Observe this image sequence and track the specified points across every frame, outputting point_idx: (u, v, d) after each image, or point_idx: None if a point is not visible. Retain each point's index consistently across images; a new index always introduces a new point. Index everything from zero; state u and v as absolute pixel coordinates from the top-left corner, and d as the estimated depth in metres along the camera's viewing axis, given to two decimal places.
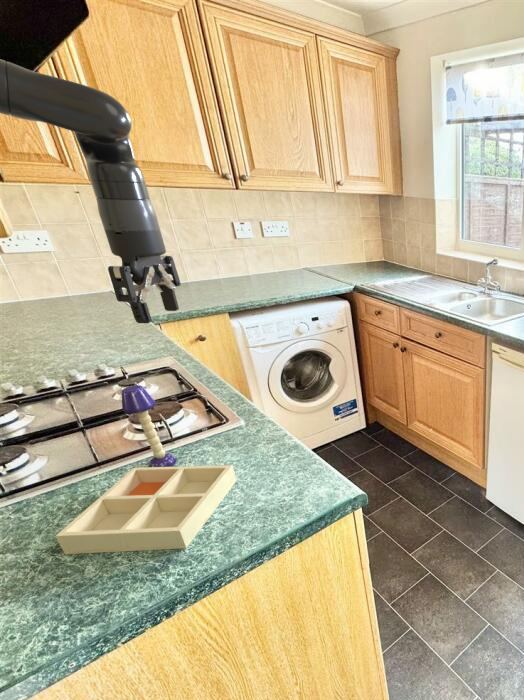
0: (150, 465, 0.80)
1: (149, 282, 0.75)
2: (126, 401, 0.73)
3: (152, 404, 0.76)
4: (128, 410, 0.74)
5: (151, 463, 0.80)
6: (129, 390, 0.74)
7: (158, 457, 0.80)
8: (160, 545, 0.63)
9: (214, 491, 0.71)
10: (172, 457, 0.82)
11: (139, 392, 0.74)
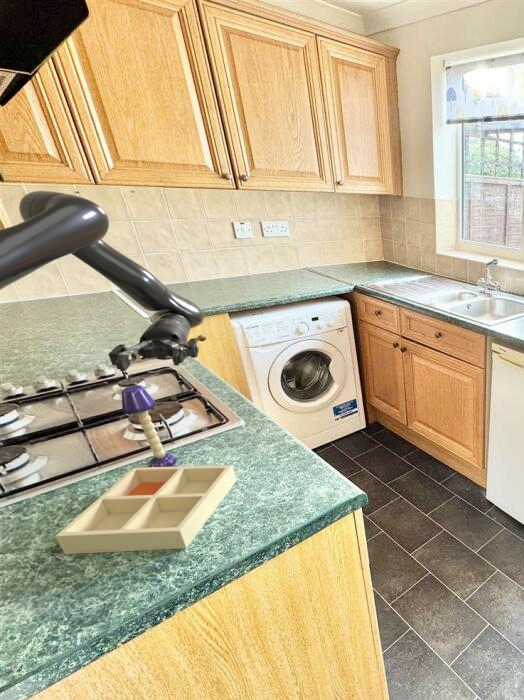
0: (150, 465, 0.80)
1: None
2: (126, 401, 0.73)
3: (152, 404, 0.76)
4: (128, 410, 0.74)
5: (151, 463, 0.80)
6: (129, 390, 0.74)
7: (158, 457, 0.80)
8: (160, 545, 0.63)
9: (214, 491, 0.71)
10: (172, 457, 0.82)
11: (139, 392, 0.74)
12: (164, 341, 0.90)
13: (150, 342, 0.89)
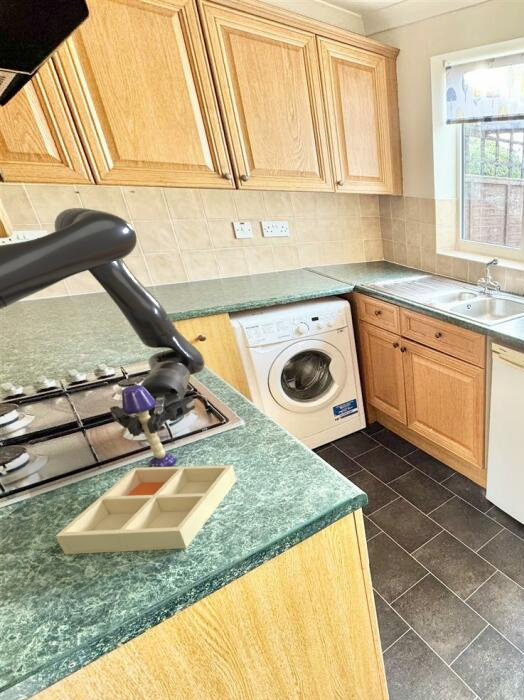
0: (150, 465, 0.80)
1: None
2: (126, 401, 0.73)
3: (153, 404, 0.76)
4: (128, 410, 0.74)
5: (151, 463, 0.80)
6: (130, 390, 0.74)
7: (158, 457, 0.80)
8: (160, 545, 0.63)
9: (214, 491, 0.71)
10: (172, 457, 0.82)
11: (140, 392, 0.74)
12: (161, 398, 0.82)
13: None
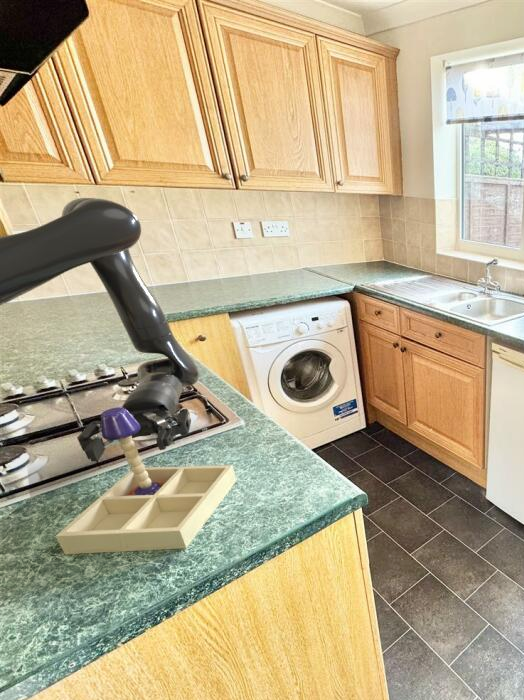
0: None
1: None
2: (106, 426, 0.65)
3: (136, 429, 0.67)
4: (108, 436, 0.65)
5: (135, 494, 0.71)
6: (109, 414, 0.65)
7: (143, 487, 0.71)
8: (160, 545, 0.63)
9: (214, 491, 0.71)
10: (159, 486, 0.73)
11: (121, 415, 0.65)
12: (148, 416, 0.73)
13: None
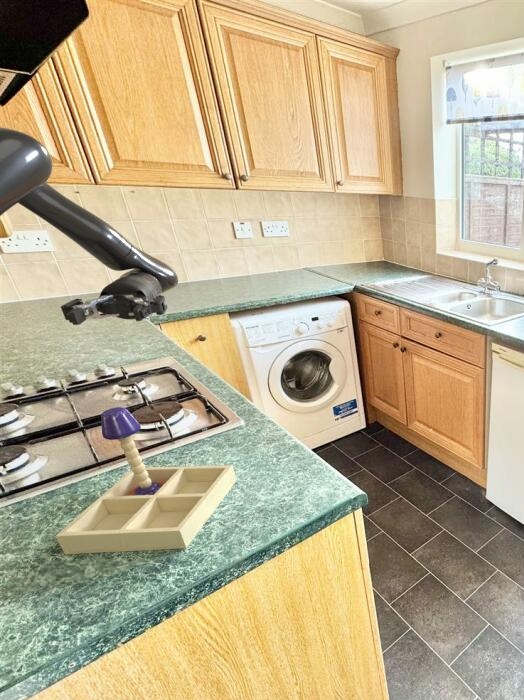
0: None
1: None
2: (106, 426, 0.65)
3: (137, 428, 0.67)
4: (108, 436, 0.65)
5: (135, 494, 0.71)
6: (110, 413, 0.65)
7: (143, 487, 0.71)
8: (160, 545, 0.63)
9: (214, 491, 0.71)
10: (159, 486, 0.73)
11: (121, 415, 0.66)
12: (127, 296, 0.80)
13: (111, 297, 0.80)
